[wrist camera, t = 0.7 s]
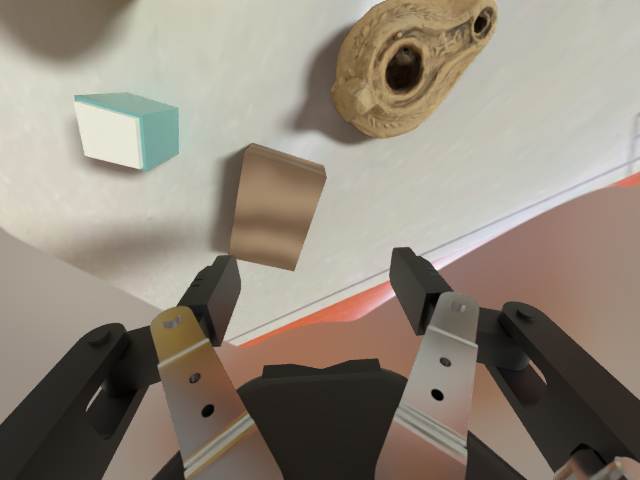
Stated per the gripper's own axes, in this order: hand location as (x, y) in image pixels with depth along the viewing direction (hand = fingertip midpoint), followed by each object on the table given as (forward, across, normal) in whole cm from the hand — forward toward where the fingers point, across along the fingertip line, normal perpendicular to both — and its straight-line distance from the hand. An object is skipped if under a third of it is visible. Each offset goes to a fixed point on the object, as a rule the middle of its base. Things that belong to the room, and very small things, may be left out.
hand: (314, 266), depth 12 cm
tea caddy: (+21, +17, -6) cm, 27 cm away
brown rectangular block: (+22, +5, +4) cm, 23 cm away
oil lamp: (+20, -10, -11) cm, 25 cm away
